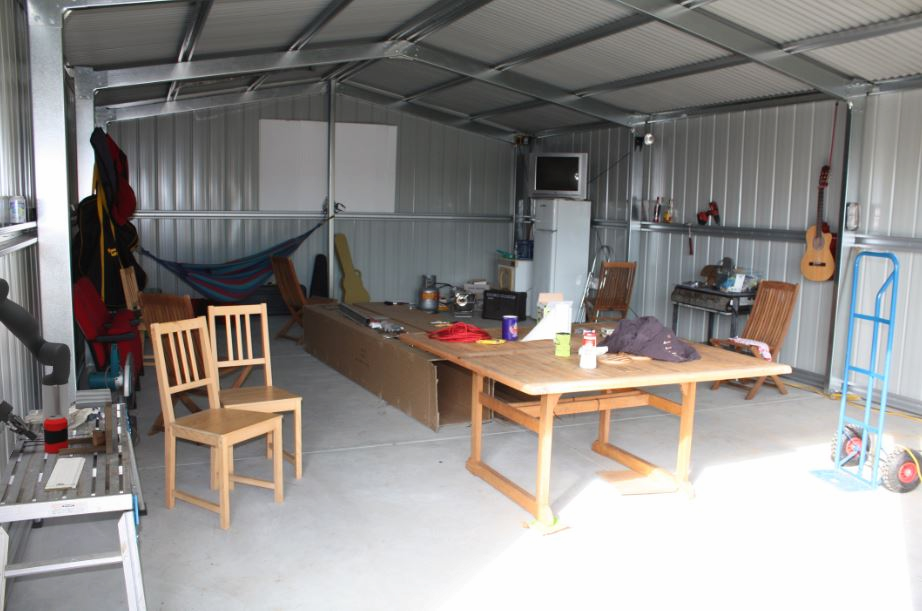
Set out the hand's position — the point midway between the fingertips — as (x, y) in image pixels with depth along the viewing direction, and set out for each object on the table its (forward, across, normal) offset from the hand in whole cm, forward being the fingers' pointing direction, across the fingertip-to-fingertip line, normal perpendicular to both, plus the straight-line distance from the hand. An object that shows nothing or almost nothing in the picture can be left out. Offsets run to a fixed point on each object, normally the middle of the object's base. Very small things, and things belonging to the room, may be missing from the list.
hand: (35, 438), depth 275 cm
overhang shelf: (+15, 0, -8) cm, 18 cm away
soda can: (+8, 0, -1) cm, 8 cm away
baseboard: (+12, -29, -4) cm, 31 cm away
